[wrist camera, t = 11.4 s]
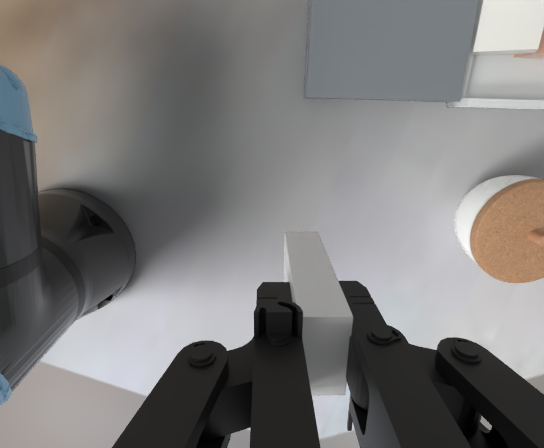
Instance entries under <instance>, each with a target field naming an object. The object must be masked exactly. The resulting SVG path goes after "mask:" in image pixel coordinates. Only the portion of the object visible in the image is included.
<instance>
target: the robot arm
mask: <svg viewBox="0 0 544 448" xmlns="http://www.w3.org/2000/svg"><path fill="white" fill-rule="evenodd" d="M35 142H37V136H36V135H35V134H34V133H33V127H32V121H31V115H30V107H29V99H28V93H27V90H26V88H25V86H24V84H23V82H22V81H21V80H20V79H19V78H18V76H17V75H15V74H14V73H13V72H12V71H11V70H9V69H8V68H6V67H4V66H2V65H0V406H1V405H3V404H4V403H5V402H6V401H7V400H8V399H9V397H10V395H11V392H12V391H13V390H14V389H15V388H16V387H17V386H18V385H19V383H20V382H21V381H22V380H23V379H24V378H25V377H26V375H27V374H28V373H29V372H30V371H31V370H32V368H33V367H34V366H35V365H36V364H37V363H38V362H39V361H40V360H41V358H42V357H43V356H44V355H45V354H46V353H47V352H48V351H49V349H50V348H51V347H52V346H53V345H54V344H55V343H56V342H57V341H58V339H59V338H60V337H61V336H62V335H63V334H64V333H65V332H66V330H67V329H68V328H69V327H70V326H71V325H72V324H73V322H74V321H75V320H77V319H79V318H81V317H83V316H85V315H87V314H90V313H92V312H94V311H96V310H98V309H100V308H102V307H104V306H105V305H107V304H109V303H110V302H111V301H112V300H114V299H115V298H116V297H117V296H118V295H119V294H120V292H121V291H122V290H123V289H124V287H125V286H126V285H127V283H128V282H129V280H130V279H131V276H132V274H133V271H134V267H135V260H136V255H135V247H134V243H133V239H132V237H131V234H130V232H129V230H128V228H127V227H126V225H125V224H124V222H123V221H122V219H121V218H120V217H119V216H118V215H117V214H116V213H115V212H114V211H113V210H112V209H111V208H110V207H109V206H107V205H106V204H104V203H103V202H101V201H100V200H98V199H96V198H94V197H92V196H90V195H88V194H85V193H82V192H79V191H74V190H68V189H51V190H46V191H42V192H39V193H38V186H37V170H36V154H35ZM347 383H348V386H349V390H350V403H349V412H348V422H347V429H348V431H351V430H352V422H353V424H354V428H355V431H356V435H357V438H358V442H359V446H360V448H544V394H542V393H541V392H540V391H538V390H537V389H536V388H535V387H533V386H532V385H531V384H530V383H528V382H527V381H526V380H525V379H523V378H522V377H521V376H520V375H518V374H517V373H516V372H514V371H513V370H512V369H511V368H509V367H508V366H507V365H506V364H504V363H503V362H502V361H501V360H499V359H498V358H497V357H496V356H494V355H493V354H492V353H490V352H489V351H488V350H487V349H485V348H483V347H482V346H480V345H479V344H477V343H474V342H472V341H469V340H467V339H462V338H446V339H443V340H441V341H440V343H439V344H438V347H437V350H433V349H428V348H423V347H419V346H415V345H411V344H409V343H408V341H407V340H406V338H405V337H404V335H403V334H402V333H401V332H400V331H398V330H397V329H395V328H393V327H392V326H389V325H387V324H386V322H385V321H384V319H383V317H382V315H381V313H380V312H379V310H378V308H377V306H376V304H374V301H373V299H372V298H371V295H370V294H369V292H368V290H367V288H366V287H364V286H363V285H362V284H360V283H359V282H358V281H338V279H337V277H336V274H335V272H334V270H333V267H332V265H331V262H330V260H329V258H328V255H327V253H326V250H325V248H324V246H323V243H322V241H321V238H320V236H319V234H318V232H285V243H284V282H263V283H262V284H261V285H260V286H259V288H258V289H257V306H256V309H255V311H254V337H253V338H252V340H251V341H250V342H249V343H247V344H246V345H244V346H242V347H240V348H237V349H233V350H229V351H227V350H226V348H225V347H224V346H223V345H221V344H220V343H217V342H214V341H199V342H194V343H192V344H190V345H188V346H186V347H184V348H183V349H182V350H181V351H180V352H179V353H178V354H177V356H176V357H175V358H174V360H173V361H172V363H171V364H170V366H169V367H168V368H167V370H166V371H165V373H164V374H163V376H162V377H161V378H160V380H159V381H158V383H157V384H156V386H155V387H154V388H153V390H152V391H151V393H150V394H149V396H148V397H147V398H146V400H145V401H144V403H143V404H142V406H141V407H140V408H139V410H138V411H137V413H136V414H135V416H134V417H133V418H132V420H131V421H130V423H129V424H128V426H127V427H126V428H125V430H124V431H123V433H122V434H121V435H120V437H119V438H118V440H117V441H116V443H115V444H114V446H113V447H112V448H227V446H228V443H229V441H230V436H231V433H234V432H237V431H240V430H244V429H247V428H250V427H251V432H250V448H320V444H319V437H318V431H317V425H316V419H315V413H314V407H313V400H312V395H345V394H346V384H347ZM481 416H483V417H484V418H485V419H486V420H487V421H488V422H489V423H490V424H491V425H492V429H491V430H488V429H487V428H486V427H485V426H484V425H482V424H481V422H480V420H481Z"/></svg>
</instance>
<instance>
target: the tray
mask: <svg viewBox="0 0 544 448" xmlns="http://www.w3.org/2000/svg"><path fill="white" fill-rule="evenodd" d="M482 5H483V0H479V4H478V9H477V14H476V19H475V24H474V29H473V35H472V40H471V45H470V50H469V55H468V60H467V66H466V71H465V76H464V81H463V86H462V91H461V97H460V102H447V107H468V108H503V109H539V110H544V59H535V58H514V54H498V55H474V53H473V51H474V46H475V41H476V35H477V30H478V25H479V20H480V15H481V10H482Z"/></svg>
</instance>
